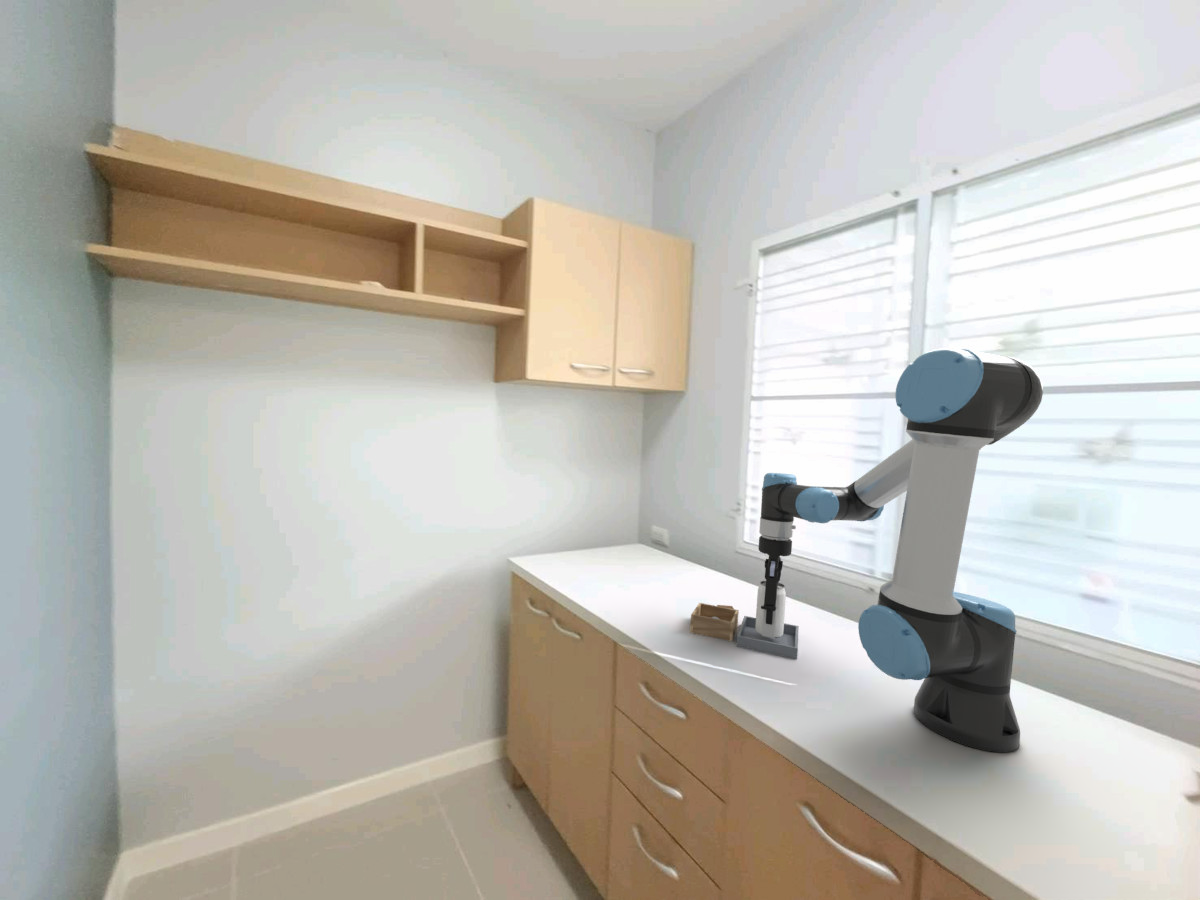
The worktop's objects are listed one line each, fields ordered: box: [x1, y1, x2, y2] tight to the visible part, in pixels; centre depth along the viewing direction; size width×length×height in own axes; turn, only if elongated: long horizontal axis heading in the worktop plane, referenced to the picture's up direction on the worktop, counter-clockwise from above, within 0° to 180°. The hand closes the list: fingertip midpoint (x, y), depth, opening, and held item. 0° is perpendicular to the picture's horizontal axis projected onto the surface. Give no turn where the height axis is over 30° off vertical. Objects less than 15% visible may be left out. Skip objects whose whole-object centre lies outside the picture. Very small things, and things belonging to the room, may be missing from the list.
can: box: [755, 580, 787, 638], centre depth 119 cm, size 6×6×12 cm
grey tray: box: [735, 615, 799, 660], centre depth 119 cm, size 15×13×3 cm
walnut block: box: [716, 604, 735, 609], centre depth 131 cm, size 4×4×4 cm
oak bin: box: [689, 602, 740, 642], centre depth 124 cm, size 10×10×5 cm
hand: (769, 631), depth 119 cm, fingers closed on can, 6 cm apart
